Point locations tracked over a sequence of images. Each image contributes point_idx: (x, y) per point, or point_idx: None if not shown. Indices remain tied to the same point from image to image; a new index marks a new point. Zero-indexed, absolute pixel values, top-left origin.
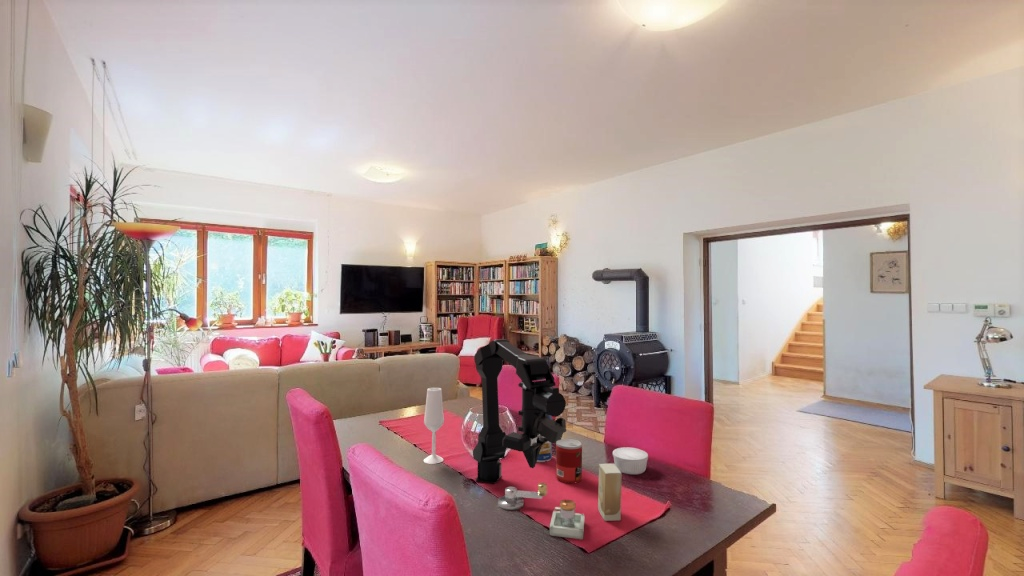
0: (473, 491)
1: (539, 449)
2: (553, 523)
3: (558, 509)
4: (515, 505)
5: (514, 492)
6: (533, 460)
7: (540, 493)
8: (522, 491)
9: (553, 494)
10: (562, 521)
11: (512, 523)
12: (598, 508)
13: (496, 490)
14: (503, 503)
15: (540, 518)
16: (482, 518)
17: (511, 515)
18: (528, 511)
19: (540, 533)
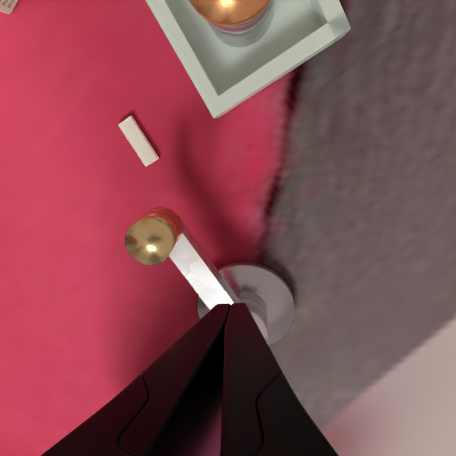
0: None
1: (110, 431)
2: (312, 34)
3: (149, 145)
4: (260, 278)
5: None
6: (262, 343)
7: (178, 226)
8: (210, 300)
9: (76, 235)
10: (274, 3)
11: (357, 215)
12: (10, 4)
13: None
14: (279, 316)
15: (253, 158)
16: (394, 312)
17: (310, 253)
18: (243, 226)
19: (351, 80)
